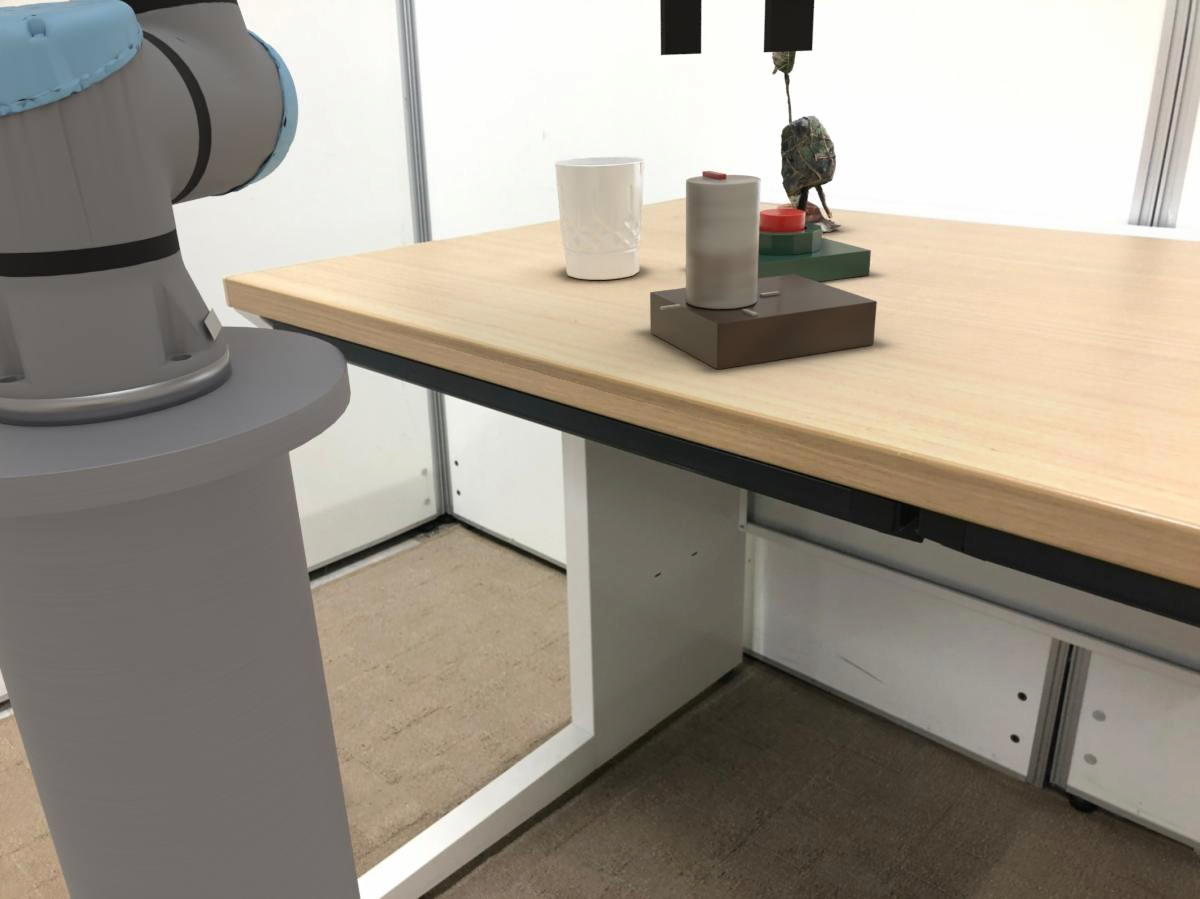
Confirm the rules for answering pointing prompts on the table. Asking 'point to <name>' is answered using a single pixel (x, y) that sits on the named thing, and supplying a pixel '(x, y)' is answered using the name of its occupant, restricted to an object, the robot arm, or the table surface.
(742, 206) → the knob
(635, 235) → the white cup
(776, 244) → the switchbox
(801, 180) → the stone bird figurine
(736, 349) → the panel
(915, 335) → the table surface
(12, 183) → the robot arm
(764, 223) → the button
